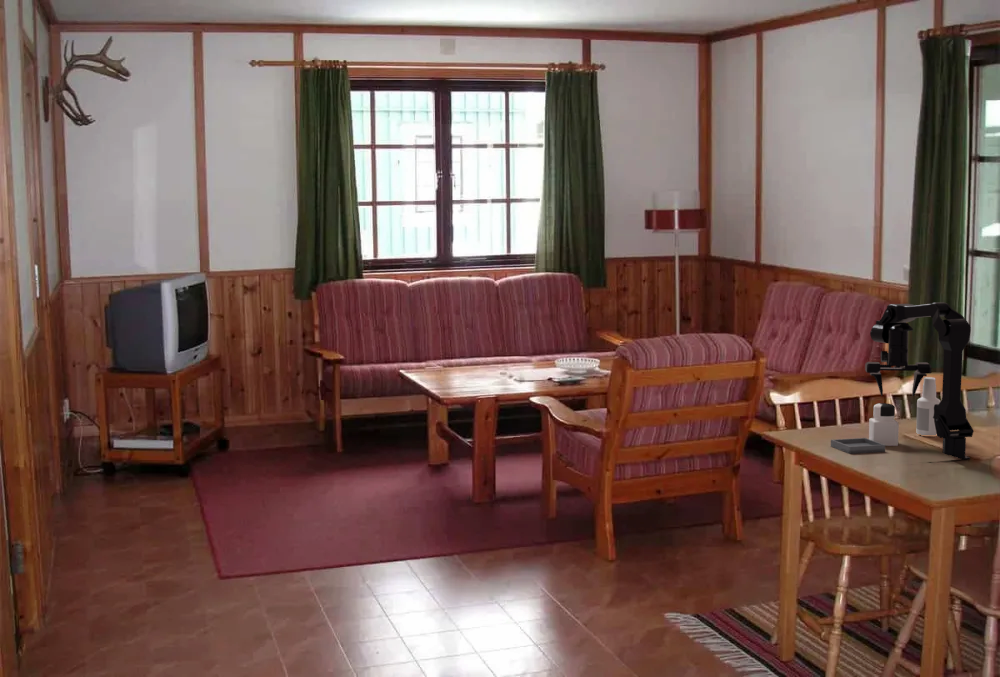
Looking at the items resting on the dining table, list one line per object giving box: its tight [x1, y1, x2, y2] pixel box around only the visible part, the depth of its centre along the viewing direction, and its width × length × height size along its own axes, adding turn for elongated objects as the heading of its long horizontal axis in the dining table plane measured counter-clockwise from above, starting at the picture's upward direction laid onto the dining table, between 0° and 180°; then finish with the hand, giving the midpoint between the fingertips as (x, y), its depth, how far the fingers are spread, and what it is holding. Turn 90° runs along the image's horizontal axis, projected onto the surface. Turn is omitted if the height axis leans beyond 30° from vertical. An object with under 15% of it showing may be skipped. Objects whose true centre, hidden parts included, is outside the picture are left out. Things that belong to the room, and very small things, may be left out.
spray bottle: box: [915, 376, 941, 435], centre depth 366 cm, size 7×7×18 cm
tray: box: [830, 437, 886, 454], centre depth 348 cm, size 11×11×2 cm
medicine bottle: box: [868, 402, 900, 447], centre depth 355 cm, size 7×7×12 cm
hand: (897, 395), depth 364 cm, fingers open, 9 cm apart
